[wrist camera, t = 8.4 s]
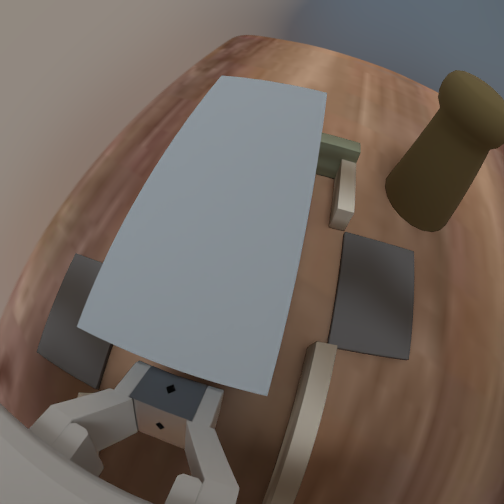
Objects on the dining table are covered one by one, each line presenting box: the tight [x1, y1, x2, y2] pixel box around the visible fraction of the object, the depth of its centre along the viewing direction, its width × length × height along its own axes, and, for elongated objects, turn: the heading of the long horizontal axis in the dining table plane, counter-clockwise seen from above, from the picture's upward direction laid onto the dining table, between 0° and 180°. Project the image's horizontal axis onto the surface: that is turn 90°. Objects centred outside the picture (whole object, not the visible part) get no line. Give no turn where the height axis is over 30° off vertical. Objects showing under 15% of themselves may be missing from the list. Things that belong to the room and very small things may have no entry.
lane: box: [37, 133, 414, 504], centre depth 12 cm, size 28×21×3 cm
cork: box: [385, 70, 504, 232], centre depth 14 cm, size 6×6×11 cm
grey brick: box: [77, 76, 327, 396], centre depth 12 cm, size 12×5×8 cm, turn 165°
